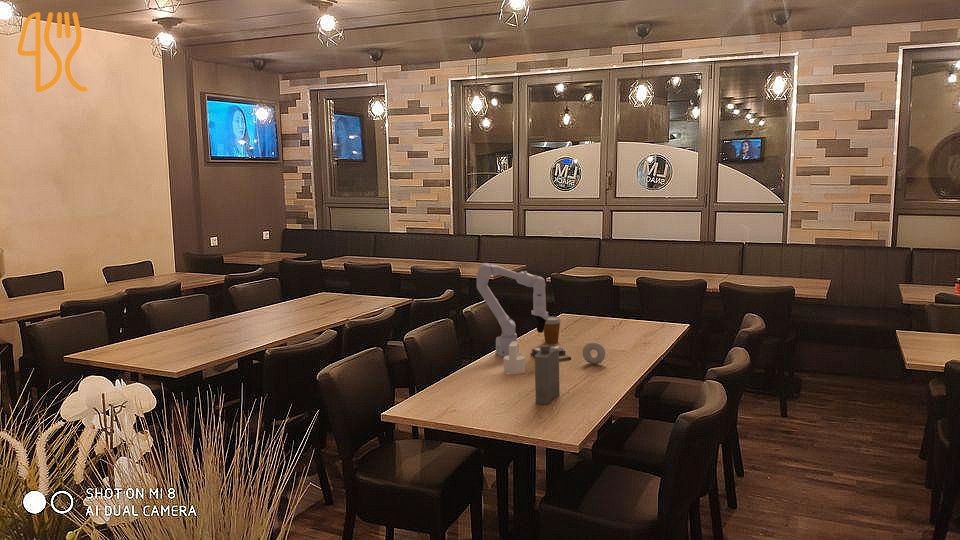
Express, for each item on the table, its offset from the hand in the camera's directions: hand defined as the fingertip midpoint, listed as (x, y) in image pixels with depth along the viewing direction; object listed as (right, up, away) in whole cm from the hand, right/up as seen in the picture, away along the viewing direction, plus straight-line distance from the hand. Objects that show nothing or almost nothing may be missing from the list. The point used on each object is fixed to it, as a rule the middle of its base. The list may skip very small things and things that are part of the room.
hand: (540, 332), depth 335 cm
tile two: (+7, -8, -5) cm, 12 cm away
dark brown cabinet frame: (+4, -11, -6) cm, 13 cm away
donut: (+22, -12, -20) cm, 32 cm away
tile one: (0, -9, -3) cm, 10 cm away
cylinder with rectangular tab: (-13, -14, -27) cm, 33 cm away
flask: (-3, -19, -66) cm, 69 cm away
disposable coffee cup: (+8, -7, +23) cm, 26 cm away
